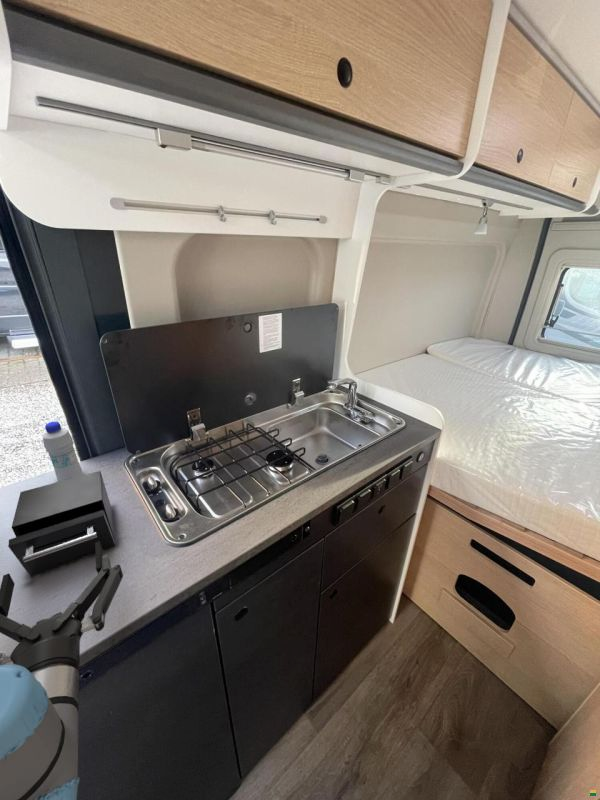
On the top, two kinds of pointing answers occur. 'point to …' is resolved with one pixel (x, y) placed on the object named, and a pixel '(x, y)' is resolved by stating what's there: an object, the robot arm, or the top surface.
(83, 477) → the oven
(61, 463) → the bottle
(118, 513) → the top surface
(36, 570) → the oven door
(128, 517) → the top surface
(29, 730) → the robot arm
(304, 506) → the top surface
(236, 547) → the top surface
